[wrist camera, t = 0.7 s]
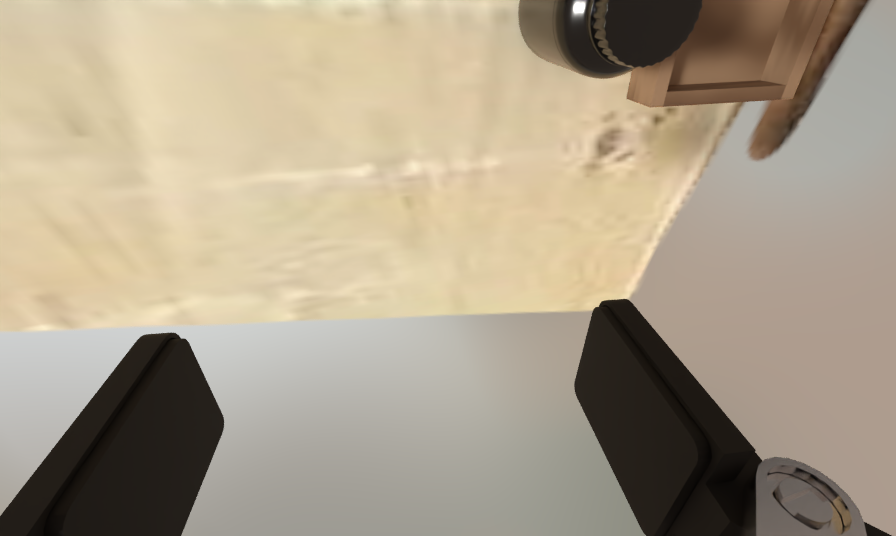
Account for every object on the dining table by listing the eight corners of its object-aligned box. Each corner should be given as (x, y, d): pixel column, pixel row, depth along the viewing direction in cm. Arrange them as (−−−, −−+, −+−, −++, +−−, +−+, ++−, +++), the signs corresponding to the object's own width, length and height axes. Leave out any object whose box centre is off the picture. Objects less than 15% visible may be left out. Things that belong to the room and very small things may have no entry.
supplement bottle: (530, -64, 26) (619, -110, 16) (623, -41, 27) (761, -69, 17) (504, 54, 29) (564, 77, 19) (588, 70, 31) (685, 99, 21)
